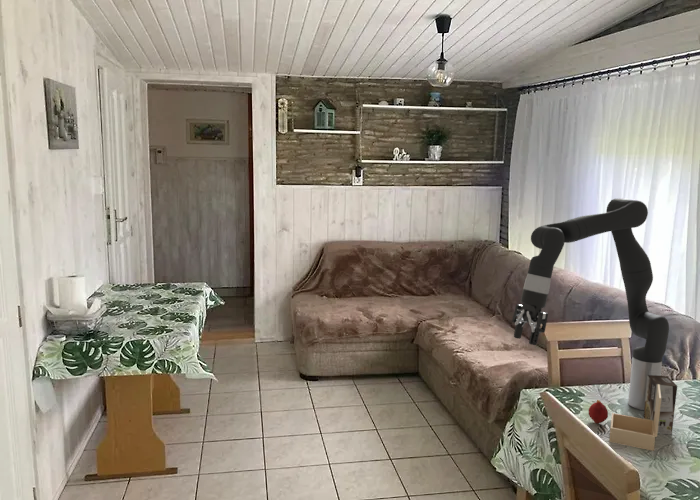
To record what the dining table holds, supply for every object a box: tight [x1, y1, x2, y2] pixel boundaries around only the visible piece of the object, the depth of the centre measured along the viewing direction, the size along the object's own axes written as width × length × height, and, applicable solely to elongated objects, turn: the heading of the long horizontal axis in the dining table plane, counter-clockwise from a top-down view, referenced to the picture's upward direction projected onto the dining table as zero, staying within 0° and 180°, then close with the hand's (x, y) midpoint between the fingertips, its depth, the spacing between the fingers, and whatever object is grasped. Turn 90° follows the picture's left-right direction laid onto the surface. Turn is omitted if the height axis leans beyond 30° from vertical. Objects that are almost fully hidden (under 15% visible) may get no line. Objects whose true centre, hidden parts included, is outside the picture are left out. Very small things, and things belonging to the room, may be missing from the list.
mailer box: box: [609, 384, 661, 452], centre depth 177 cm, size 12×12×16 cm
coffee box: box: [642, 375, 678, 436], centre depth 185 cm, size 9×6×16 cm
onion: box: [588, 399, 609, 425], centre depth 188 cm, size 6×6×8 cm
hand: (524, 341), depth 179 cm, fingers open, 8 cm apart
